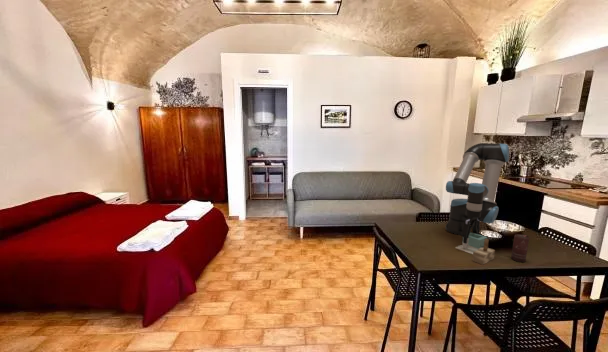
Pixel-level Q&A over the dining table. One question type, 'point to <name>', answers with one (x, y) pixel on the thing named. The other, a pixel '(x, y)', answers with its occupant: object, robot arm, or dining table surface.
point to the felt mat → (469, 250)
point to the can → (520, 247)
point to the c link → (476, 240)
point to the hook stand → (483, 254)
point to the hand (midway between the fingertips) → (469, 246)
